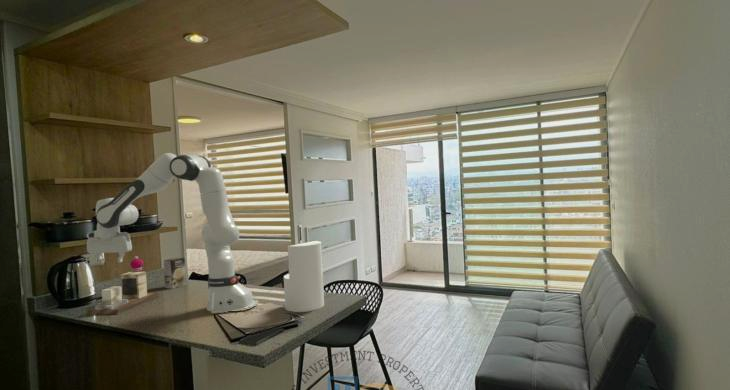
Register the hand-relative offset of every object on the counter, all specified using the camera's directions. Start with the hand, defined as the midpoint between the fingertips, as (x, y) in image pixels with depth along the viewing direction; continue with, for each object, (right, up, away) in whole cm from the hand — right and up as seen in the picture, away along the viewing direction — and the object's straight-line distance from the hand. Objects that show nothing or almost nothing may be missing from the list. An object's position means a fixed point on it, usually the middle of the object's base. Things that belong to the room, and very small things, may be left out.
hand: (110, 262), depth 178 cm
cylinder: (+92, -18, -7) cm, 94 cm away
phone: (+82, -19, -42) cm, 94 cm away
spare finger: (+1, -20, 0) cm, 20 cm away
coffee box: (+9, -22, +42) cm, 48 cm away
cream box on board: (+2, -22, +8) cm, 24 cm away
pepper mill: (-7, -23, +33) cm, 40 cm away
